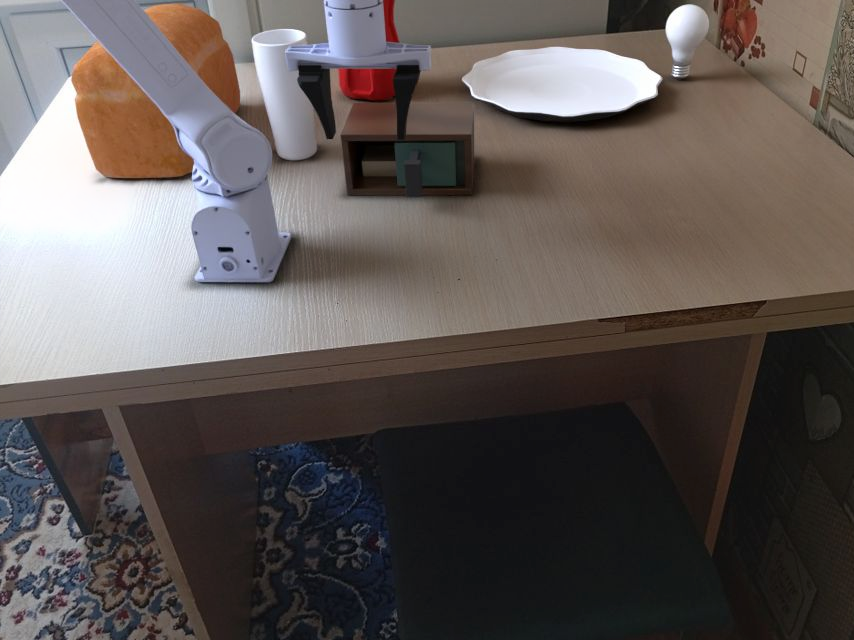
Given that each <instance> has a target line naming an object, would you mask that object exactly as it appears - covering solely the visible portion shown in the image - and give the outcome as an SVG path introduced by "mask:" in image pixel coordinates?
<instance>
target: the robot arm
mask: <svg viewBox="0 0 854 640" xmlns="http://www.w3.org/2000/svg"><path fill="white" fill-rule="evenodd" d="M60 2H61V3H62V4H63V5H64V6H65V7H66V8H67V9H68V11H70V12H71V14H72V15H73V16H74V17H75V18H76V19H77V20H78V22H80V24H82V25H83V27H84V28H85V29H86V30H87V31H88V32H89V33H90V35H92V37H93V38H94V39H95V40H96V41H98V42H99V43H100V44H101V45H102V46H103V47H104V48H105V49H106V51H107V52H108V53H109V54H110V55H111V56H112V57H113V58H114V59H115V60H116V62H117V63H118V64H119V65H120V66H121V67H122V68H123V69H124V70H125V71H126V72H127V74H128V75H129V76H130V77H131V78H132V79H133V80H134V81H135V82H136V83H137V84H138V86H139V87H140V88H141V89H142V90H143V91H144V92H145V93H146V94H147V95H148V97H149V98H150V99H151V100H152V101H153V102H154V103H155V104H156V105H157V106H158V108H159V109H160V111H161V112H162V113H163V115H164V116H165V117H166V118H167V119H168V120H169V121H170V123H171V124H172V125H173V128H174V130H175V133H176V137H177V141H178V143H179V145H180V147H181V148H182V150H183V151H184V152H185V153H186V154H187V155H189V156H190V157H192V158H193V159H194V166H193V172H191V174H192V175H191V181H192V185H193V188H194V192H195V196H196V207H195V208H196V209H195V212H194V214H193V216H192V219H191V223H190V231H191V235H192V238H193V242H194V246H195V250H196V254H197V258H198V261H199V265H200V267H199V268H198V270H197V272H196V274H195V275H194V281H195V282H197V283H271V282H273V281H274V279H275V277H276V275H277V273H278V270H279V267H280V266H281V263H282V260H283V258H284V256H285V254H286V251H287V248H288V247H289V244H290V242H291V239H292V233H291V232H288V231H287V232H286V231H285V232H283V231H282V232H280V231H279V228H278V224H277V219H276V213H275V208H274V203H273V197H272V192H271V187H270V181H269V176H268V174H269V172H270V170H271V166H272V165H273V164H272V162H273V151H272V147H271V143H270V141H269V140H268V138H267V137H266V135H265V134H264V133H263V132H261V130H259V129H258V128H255V127H254V126H252V125H250V124H249V123H247V122H246V121H245V120H243V119H242V118H241V117H240V116H238V115H237V113H235V114H234V112H233V111H232V110H231V109H230V108H229V107H228V106H227V105H226V104H224V103H223V102H222V101H221V100H220V99H219V98H218V97H217V96H216V95H215V94H214V93H213V92H212V91H211V90H210V89H209V88H208V87H207V86H206V85H205V83H204V82H203V81H202V80H201V79H200V77H199V76H198V75H197V74H196V73H195V71H194V70H193V69H192V68H191V67H190V65H189V64H188V63H187V62H186V61H185V59H184V58H183V57H182V56H181V55H180V53H179V52H178V51H177V50H176V48H175V47H174V46H173V45H172V44H171V42H170V41H169V40H168V39H167V38H166V36H165V35H164V34H163V33H162V32H161V30H160V29H159V28H158V27H157V26H156V24H155V23H154V22H153V21H152V20H151V18H150V17H149V16H148V15H147V14H146V12H145V11H144V10H145V9H143V8H142V6H141V5H140V4H139V3H138V1H137V0H60ZM323 8H324V15H325V16H324V17H325V24H326V32H327V41H328V42H323V43H314V44H313V43H312V44H308V45H302V46H289V47H288V49H287V50H286V51H285V56H286V62H287V69H288V71H298V70H299V77H298V78H297V81H298V84H299V87H300V88H301V89H302V91H303V92H304V93H305V95H306V96H307V98H308V99H309V101H310V102H311V104H312V106H313V107H314V112H315V113H316V115H317V116H318V119H319V122H320V124H321V127H322V129H323V132H324V135H325V138H326V140H331V141H333V140H334V138H335V135H336V133H337V125H336V118H335V112H334V106H333V99H332V86H331V69H333V70H335V69H337V70H338V69H397V70H396V72H395V74H394V77H393V85H394V92H395V96H394V97H395V98H394V99H395V103H396V108H397V137H398V140H404V139H405V136H406V124H407V116H408V110H409V105H410V103H411V101H412V98H413V95H414V92H415V90H416V88H417V85H418V82H419V79H420V76H421V72H430V71H431V67H432V47H431V45H424V44H423V45H422V44H421V45H420V44H409V43H403V42H402V43H401V42H400V43H393V42H386V35H385V22H384V9H383V0H323Z"/></svg>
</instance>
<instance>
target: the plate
mask: <svg viewBox="0 0 854 640" xmlns="http://www.w3.org/2000/svg"><path fill="white" fill-rule="evenodd" d="M663 80H664V79H663V77H662V75H660V74H658V73H656V71H653V70H652V69H650V68H649V67H648V66H647V65H646V63H645V62H643V61H642V60H639V59H636V58H632V57H627V56H622V55H618V54H616V53H613V52H610V51H607V50H602V49H593V48H592V49H590V48H589V49H588V48H573V47H565V46H548V47H542V48H534V49H516V50H510V51H506V52H504V53H502V54H499V55H497V56H493V57H490V58H485V59H481V60H479V61H476V62H475V63H474V64H473V66H472V68H471V70H470V71H469V72H467V73H466V74H465V75H463V76H462V77H461V82H462V83H463V84H464V85H465V86H466V87H467V88H468V89H469V91H470V94H471V95H470V96H471V97H472V98H473V99H475V100H476V101H479V102H482V103H484V104H488V105H490V106H491V107H493V108H494V109H497V110H498V111H501V112H502V113H506V114H508V115H512V116H515V117H519V118H522V119H526V120H527V119H528V120H534V121H541V122H555V123H557V122H558V123H575V122H589V121H595V120H596V121H597V120H601V119H607V118H611V117H614V116H617V115H620V114H623V113H624V112H626V111H628V110H630V109H633V108H636V107H638V106H640V105H642V104H643V105H644V104H646V103H647V102H649V101H651V100H654V99H655V98H657V97H658V96H659V93H658V91H659V90H658V87H660V84H662V82H663Z"/></svg>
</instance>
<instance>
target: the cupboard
mask: <svg viewBox="0 0 854 640" xmlns="http://www.w3.org/2000/svg"><path fill="white" fill-rule="evenodd" d="M339 136H340V137H339V138H340V146H341V155H342V161H343V170H344V178H345V179H344V180H345V184H346V186H345V187H346V193H347V194H346V195H347V196H406V186H398V184H397V171H396V158H395V145H394V143H395V141H455V146H456V182H457V184H456V186H422V189H423V193H422V196H472V195H473V191H474V190H473V188H474V173H475V102H474V101H467V102H466V101H462V102H461V101H460V102H459V101H455V102H453V101H451V102H442V101H441V102H440V101H439V102H437V101H436V102H410V105H409V110H408V116H407V124H406V136H405V139H404V140H398V137H397V108H396V102H353V103H352V104H351V106H350V109H349V112H348V114H347V117H346V119H345V122H344V124H343V127H342V129H341V132H340V134H339Z"/></svg>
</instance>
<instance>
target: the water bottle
mask: <svg viewBox="0 0 854 640" xmlns="http://www.w3.org/2000/svg"><path fill="white" fill-rule="evenodd" d="M395 1H396V0H383V9H384V22H385V35H386V42H393V43H401V42H400V39H399V35H398V32H397V28H396V25H395V18H394V17H395V15H394V13H395V12H394V8H395V3H396V2H395ZM396 70H397V69H337V71H338V85H339V88H340V91H341V93H342V94H343V95H344V96H346V97H347V98H349V99H354V100H365V101H373V102H382V101H388V100H391V99H392V98H393V97H395V92H394V85H393V77H394V74H395V72H396Z"/></svg>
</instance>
